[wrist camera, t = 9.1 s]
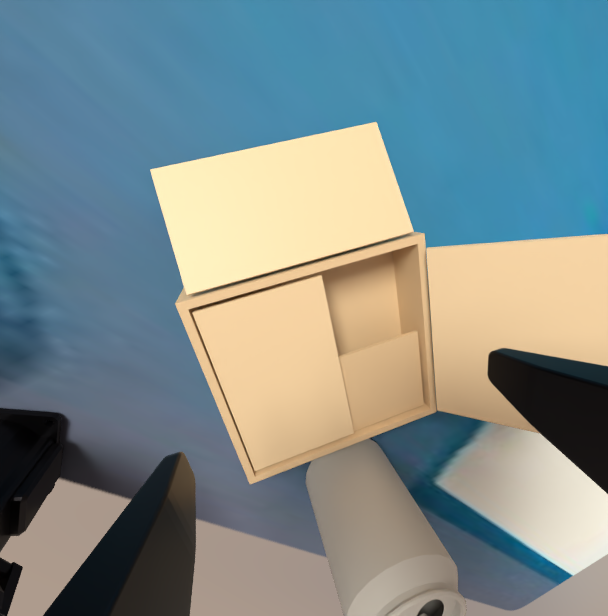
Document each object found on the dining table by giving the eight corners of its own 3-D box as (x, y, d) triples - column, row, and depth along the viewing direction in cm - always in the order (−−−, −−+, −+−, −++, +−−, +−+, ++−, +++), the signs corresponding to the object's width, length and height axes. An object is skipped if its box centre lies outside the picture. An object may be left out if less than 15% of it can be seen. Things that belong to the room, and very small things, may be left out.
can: (380, 480, 29) (473, 646, 18) (307, 503, 28) (360, 699, 17) (378, 420, 27) (486, 571, 16) (298, 442, 25) (355, 626, 14)
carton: (246, 447, 24) (250, 484, 21) (138, 173, 16) (117, 164, 13) (410, 386, 26) (436, 411, 23) (383, 121, 19) (416, 103, 15)
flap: (437, 410, 22) (658, 459, 16) (426, 248, 18) (731, 226, 11) (438, 406, 22) (655, 453, 16) (427, 247, 18) (726, 224, 11)
